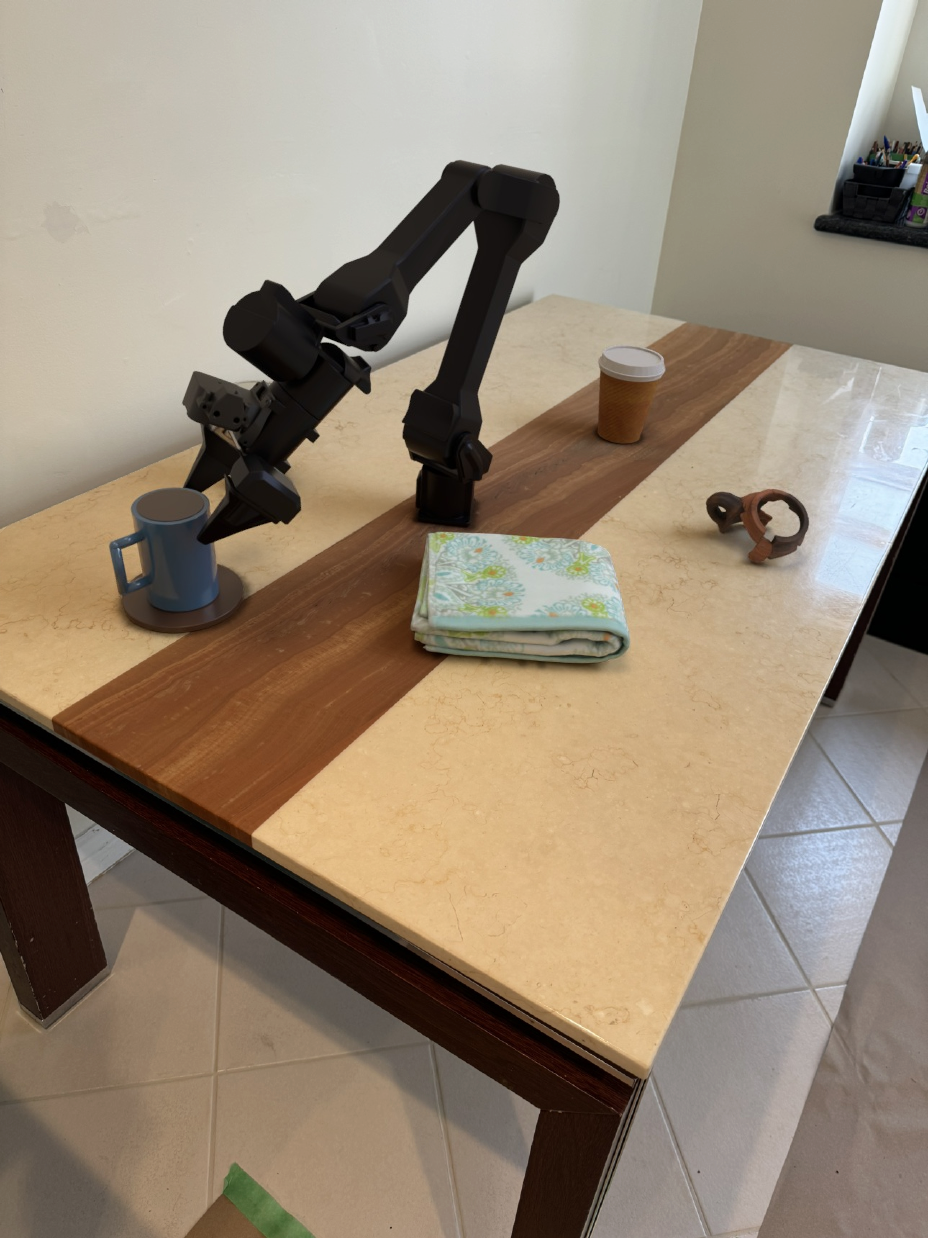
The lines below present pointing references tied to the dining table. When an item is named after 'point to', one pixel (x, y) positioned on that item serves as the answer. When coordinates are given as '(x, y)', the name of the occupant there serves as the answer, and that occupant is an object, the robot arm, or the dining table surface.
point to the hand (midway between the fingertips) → (192, 518)
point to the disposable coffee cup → (626, 390)
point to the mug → (170, 550)
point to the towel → (519, 599)
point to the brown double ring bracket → (758, 520)
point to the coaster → (186, 621)
